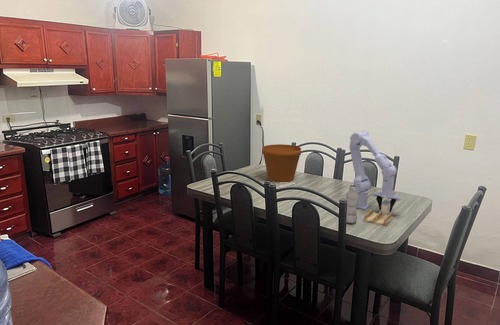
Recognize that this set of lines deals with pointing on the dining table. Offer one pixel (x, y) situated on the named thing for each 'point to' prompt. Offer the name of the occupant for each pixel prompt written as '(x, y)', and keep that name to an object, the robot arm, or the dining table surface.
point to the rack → (377, 218)
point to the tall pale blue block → (385, 207)
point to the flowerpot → (281, 161)
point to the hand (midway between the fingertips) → (385, 210)
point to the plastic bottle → (352, 204)
